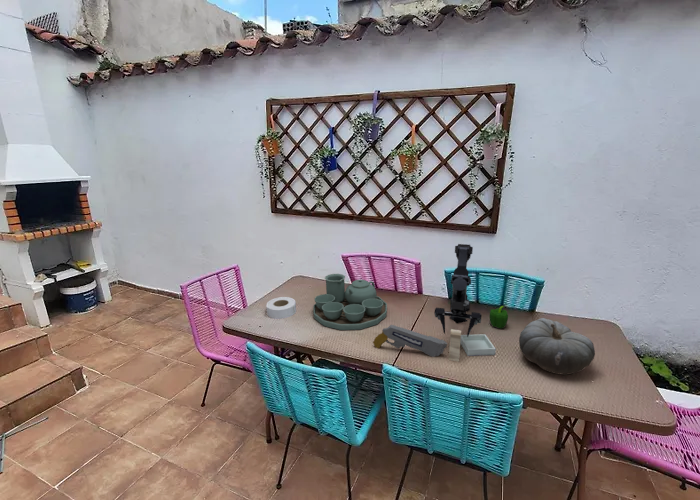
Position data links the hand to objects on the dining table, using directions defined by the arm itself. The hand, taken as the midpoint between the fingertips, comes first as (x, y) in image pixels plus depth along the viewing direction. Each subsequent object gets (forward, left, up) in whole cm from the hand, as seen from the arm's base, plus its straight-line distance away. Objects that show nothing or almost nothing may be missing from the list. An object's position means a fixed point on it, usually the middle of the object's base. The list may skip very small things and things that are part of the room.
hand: (455, 335), depth 140 cm
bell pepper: (-34, -13, -10) cm, 37 cm away
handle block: (+1, +2, -9) cm, 10 cm away
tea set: (+28, -53, -10) cm, 61 cm away
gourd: (-34, +18, -10) cm, 39 cm away
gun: (+16, -9, -10) cm, 21 cm away
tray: (-12, -1, -9) cm, 15 cm away
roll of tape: (+63, -67, -10) cm, 93 cm away
